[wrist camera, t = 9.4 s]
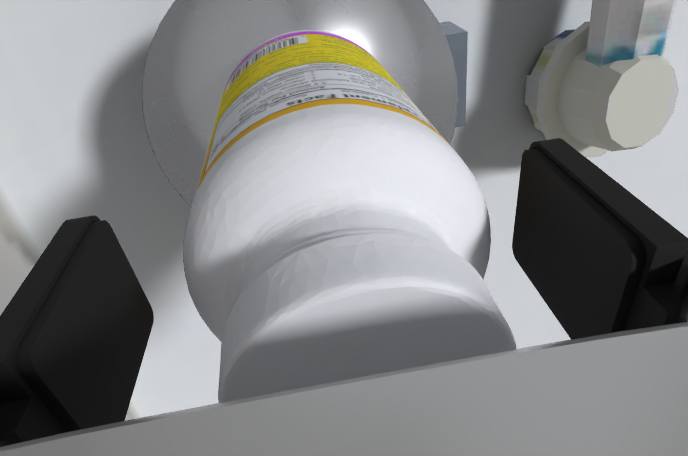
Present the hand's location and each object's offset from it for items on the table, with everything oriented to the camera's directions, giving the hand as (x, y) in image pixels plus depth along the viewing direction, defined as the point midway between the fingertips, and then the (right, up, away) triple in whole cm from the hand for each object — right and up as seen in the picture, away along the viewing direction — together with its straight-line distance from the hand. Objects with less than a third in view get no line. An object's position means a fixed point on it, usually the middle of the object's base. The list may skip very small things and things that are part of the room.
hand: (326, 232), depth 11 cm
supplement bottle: (-1, +4, +7) cm, 9 cm away
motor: (-2, +7, +12) cm, 14 cm away
